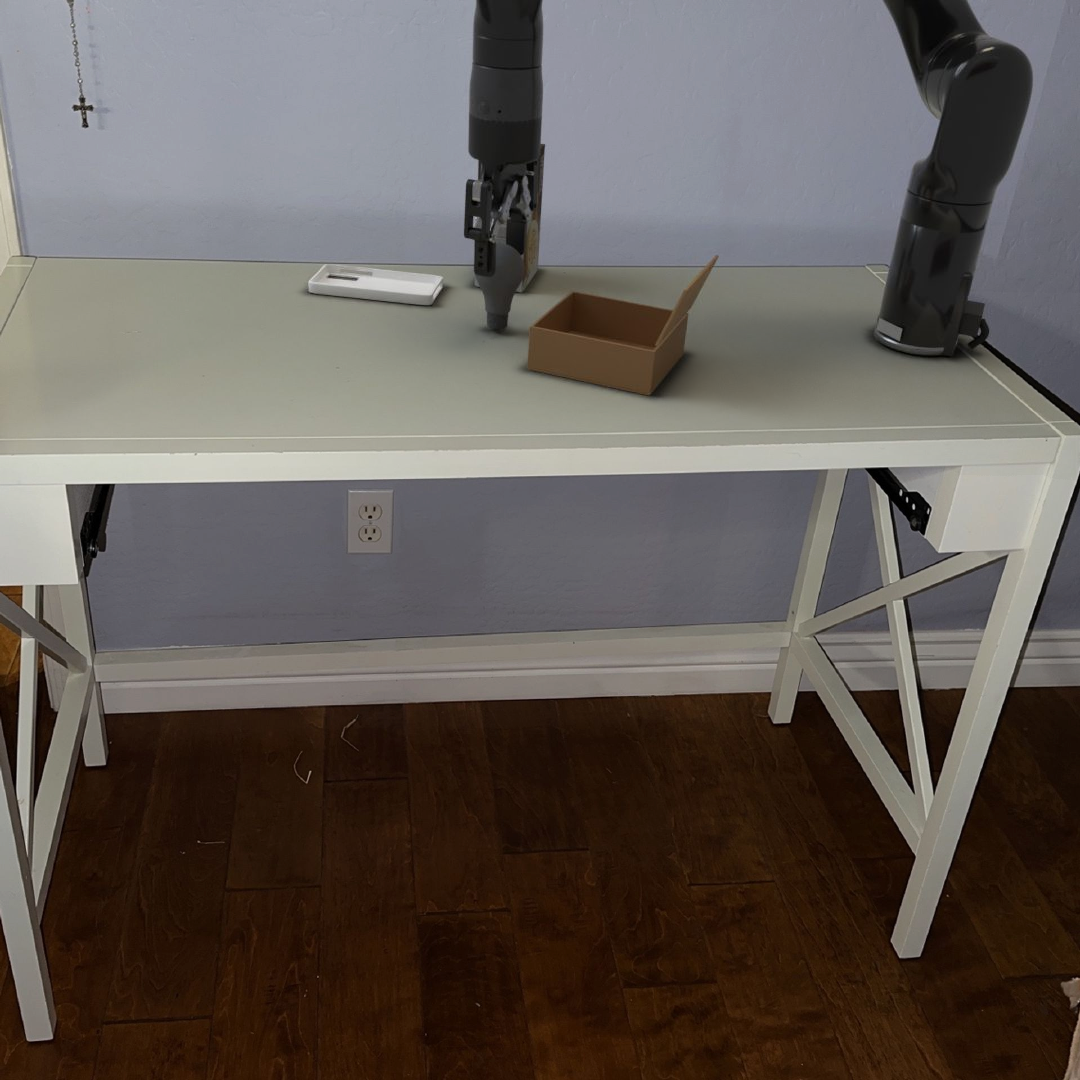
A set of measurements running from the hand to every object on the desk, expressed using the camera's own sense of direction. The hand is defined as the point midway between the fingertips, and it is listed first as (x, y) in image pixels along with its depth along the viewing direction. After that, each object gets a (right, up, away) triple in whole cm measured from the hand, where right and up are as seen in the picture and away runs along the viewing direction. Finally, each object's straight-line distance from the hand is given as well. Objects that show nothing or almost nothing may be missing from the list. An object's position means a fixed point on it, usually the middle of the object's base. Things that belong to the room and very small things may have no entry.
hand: (500, 264), depth 128 cm
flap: (+19, -6, -8) cm, 22 cm away
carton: (+12, -11, -2) cm, 16 cm away
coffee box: (0, +3, +20) cm, 20 cm away
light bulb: (-1, -7, +4) cm, 8 cm away
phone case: (-15, 0, +13) cm, 20 cm away
